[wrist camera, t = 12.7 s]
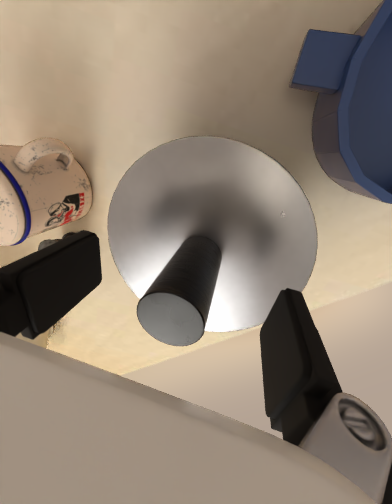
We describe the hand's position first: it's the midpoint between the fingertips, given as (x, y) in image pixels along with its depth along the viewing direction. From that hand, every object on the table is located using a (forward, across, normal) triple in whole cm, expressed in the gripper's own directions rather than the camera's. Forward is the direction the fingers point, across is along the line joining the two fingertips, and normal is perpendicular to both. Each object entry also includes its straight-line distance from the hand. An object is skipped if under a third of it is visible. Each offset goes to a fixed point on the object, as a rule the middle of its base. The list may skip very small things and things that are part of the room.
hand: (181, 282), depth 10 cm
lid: (+4, 0, 0) cm, 4 cm away
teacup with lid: (+14, +19, 0) cm, 23 cm away
